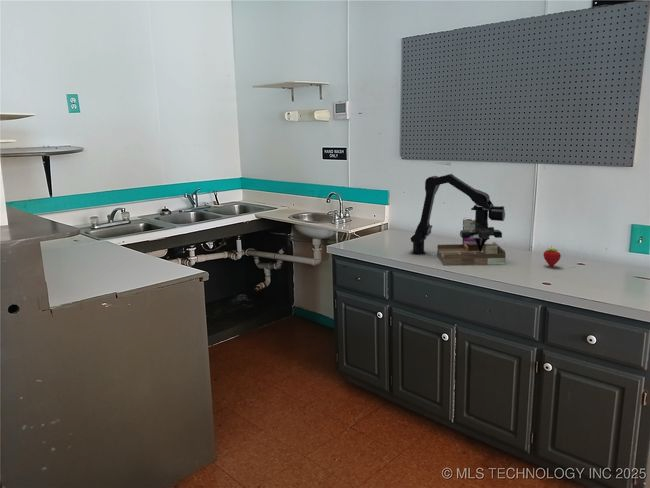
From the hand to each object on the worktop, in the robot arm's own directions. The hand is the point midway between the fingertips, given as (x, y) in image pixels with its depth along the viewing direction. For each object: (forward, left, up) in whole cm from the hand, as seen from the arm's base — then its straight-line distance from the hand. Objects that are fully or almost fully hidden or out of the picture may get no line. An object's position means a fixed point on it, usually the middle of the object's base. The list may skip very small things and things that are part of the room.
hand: (479, 251), depth 243 cm
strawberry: (+15, +28, -4) cm, 32 cm away
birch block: (0, +5, -1) cm, 5 cm away
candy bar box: (-19, +1, -4) cm, 19 cm away
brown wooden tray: (0, -5, -4) cm, 6 cm away
